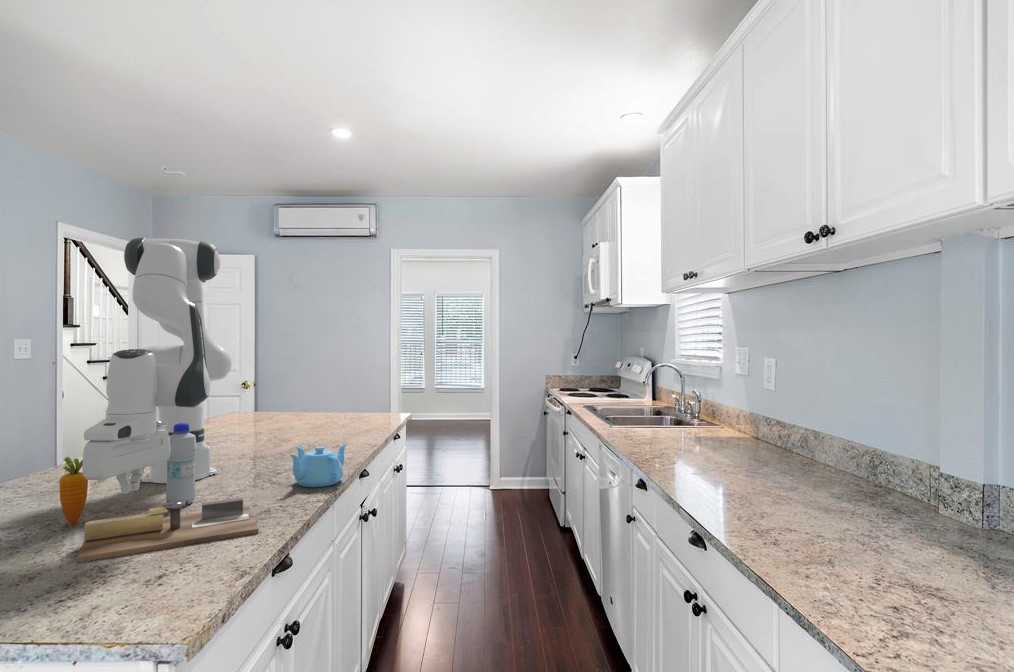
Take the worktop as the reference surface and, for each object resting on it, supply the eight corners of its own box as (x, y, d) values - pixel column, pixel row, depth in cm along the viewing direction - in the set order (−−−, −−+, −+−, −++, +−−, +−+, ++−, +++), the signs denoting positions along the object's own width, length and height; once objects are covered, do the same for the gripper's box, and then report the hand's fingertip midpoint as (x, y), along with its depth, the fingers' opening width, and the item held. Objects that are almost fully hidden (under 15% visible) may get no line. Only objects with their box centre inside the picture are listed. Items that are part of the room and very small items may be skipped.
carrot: (93, 523, 118) (94, 455, 118) (68, 531, 113) (69, 459, 113) (77, 521, 120) (78, 453, 120) (52, 528, 115) (53, 458, 115)
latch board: (91, 532, 113) (92, 508, 113) (249, 510, 128) (249, 489, 128) (77, 562, 97) (77, 535, 97) (258, 533, 113) (258, 509, 113)
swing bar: (185, 521, 115) (185, 499, 115) (185, 526, 112) (185, 503, 112) (86, 535, 106) (87, 511, 106) (83, 541, 103) (84, 516, 103)
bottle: (181, 508, 129) (182, 425, 129) (157, 506, 130) (159, 424, 130) (202, 500, 135) (203, 421, 136) (179, 498, 137) (181, 420, 137)
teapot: (342, 488, 148) (343, 451, 148) (284, 491, 144) (285, 453, 145) (347, 476, 162) (348, 442, 162) (294, 477, 159) (295, 443, 159)
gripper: (152, 419, 124) (151, 479, 124) (76, 433, 104) (74, 505, 103) (178, 419, 124) (177, 480, 123) (107, 433, 103) (105, 505, 103)
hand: (130, 491), depth 113 cm, fingers closed
